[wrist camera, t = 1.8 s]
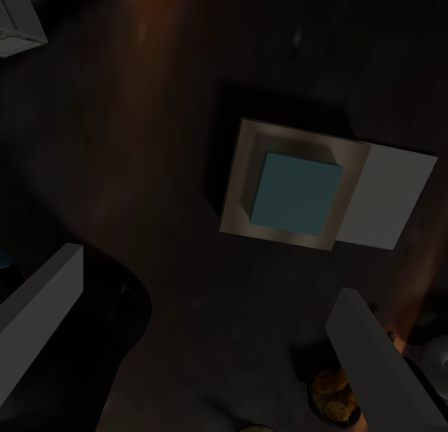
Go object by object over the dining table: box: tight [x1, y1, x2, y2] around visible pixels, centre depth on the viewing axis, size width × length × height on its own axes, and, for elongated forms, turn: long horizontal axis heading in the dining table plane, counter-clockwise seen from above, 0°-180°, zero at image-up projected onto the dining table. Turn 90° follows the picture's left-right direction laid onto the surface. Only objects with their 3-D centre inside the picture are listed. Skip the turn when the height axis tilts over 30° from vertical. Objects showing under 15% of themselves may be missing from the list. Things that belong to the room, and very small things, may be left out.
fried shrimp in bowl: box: [307, 331, 395, 429], centre depth 44 cm, size 9×11×18 cm
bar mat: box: [335, 141, 438, 250], centre depth 36 cm, size 10×13×1 cm
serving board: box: [219, 117, 372, 251], centre depth 34 cm, size 14×13×4 cm
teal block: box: [249, 149, 344, 236], centre depth 31 cm, size 8×8×2 cm
